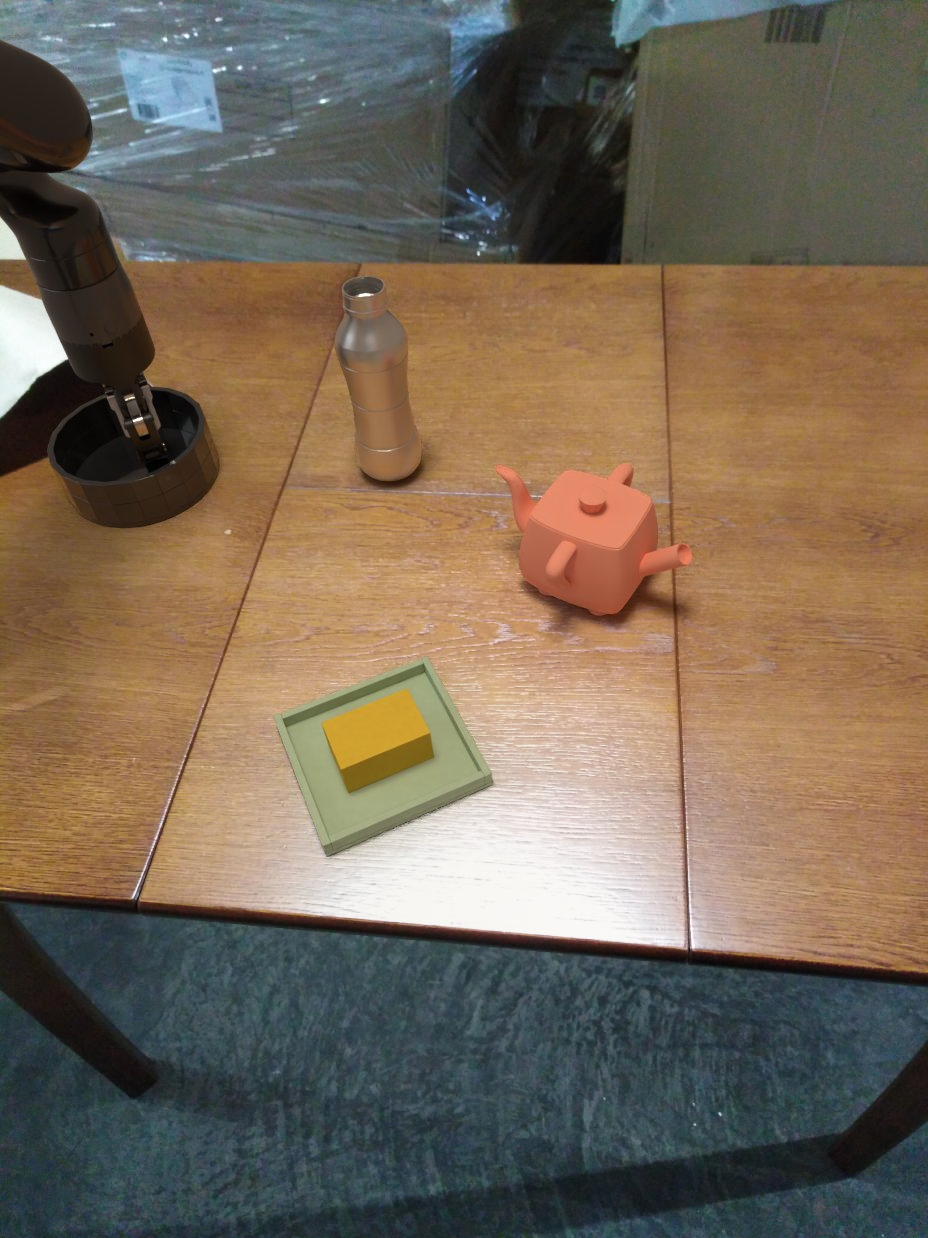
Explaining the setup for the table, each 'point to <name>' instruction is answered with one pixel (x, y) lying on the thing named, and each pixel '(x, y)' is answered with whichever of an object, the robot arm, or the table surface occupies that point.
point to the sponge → (378, 740)
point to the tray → (396, 795)
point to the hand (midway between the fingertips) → (158, 463)
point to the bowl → (133, 462)
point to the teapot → (590, 538)
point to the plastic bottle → (377, 381)
